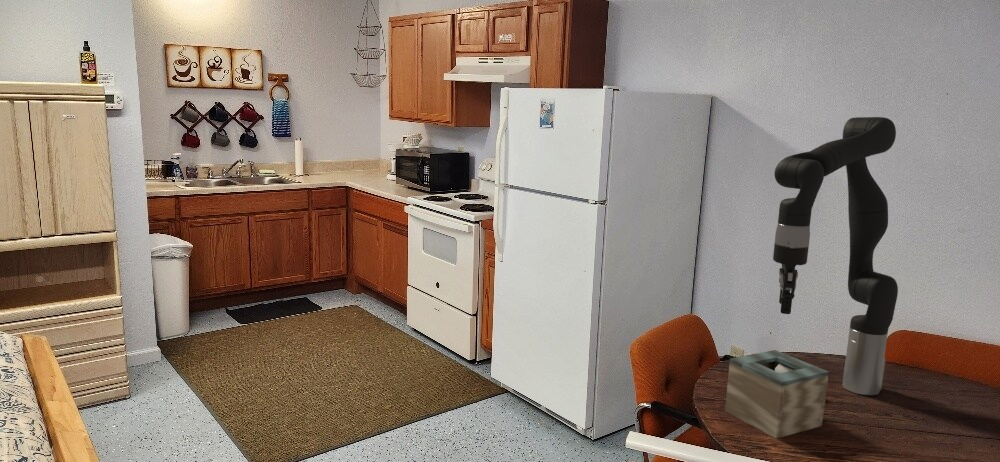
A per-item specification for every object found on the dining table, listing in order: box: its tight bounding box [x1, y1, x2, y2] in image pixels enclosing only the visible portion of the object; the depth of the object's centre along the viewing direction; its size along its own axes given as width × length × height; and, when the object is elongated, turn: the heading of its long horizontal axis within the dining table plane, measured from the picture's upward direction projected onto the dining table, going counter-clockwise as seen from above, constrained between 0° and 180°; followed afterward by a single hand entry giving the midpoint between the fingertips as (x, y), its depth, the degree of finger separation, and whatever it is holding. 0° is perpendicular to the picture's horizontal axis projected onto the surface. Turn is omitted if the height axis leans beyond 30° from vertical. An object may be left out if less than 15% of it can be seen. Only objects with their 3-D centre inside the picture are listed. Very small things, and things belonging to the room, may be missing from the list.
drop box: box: [724, 349, 830, 440], centre depth 169 cm, size 16×16×14 cm
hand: (784, 308), depth 165 cm, fingers open, 8 cm apart
